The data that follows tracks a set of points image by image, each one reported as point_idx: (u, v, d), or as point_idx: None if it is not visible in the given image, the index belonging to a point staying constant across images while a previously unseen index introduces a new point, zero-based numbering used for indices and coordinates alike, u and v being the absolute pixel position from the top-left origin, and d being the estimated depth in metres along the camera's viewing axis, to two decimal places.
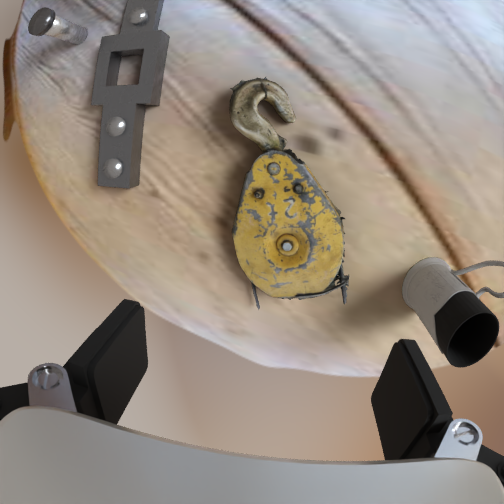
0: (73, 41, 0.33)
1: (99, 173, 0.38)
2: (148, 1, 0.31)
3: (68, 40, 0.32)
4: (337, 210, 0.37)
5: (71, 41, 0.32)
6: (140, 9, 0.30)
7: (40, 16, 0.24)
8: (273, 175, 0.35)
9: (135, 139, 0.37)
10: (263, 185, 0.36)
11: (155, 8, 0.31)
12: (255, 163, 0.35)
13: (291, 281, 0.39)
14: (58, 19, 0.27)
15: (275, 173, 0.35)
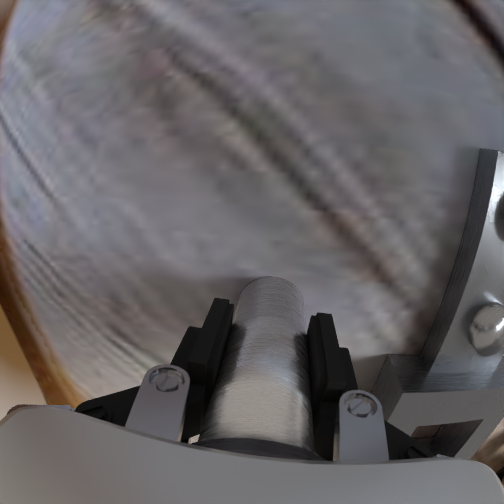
0: None
1: None
2: None
3: None
4: None
5: None
6: None
7: None
8: None
9: None
10: None
11: None
12: None
13: None
14: None
15: None
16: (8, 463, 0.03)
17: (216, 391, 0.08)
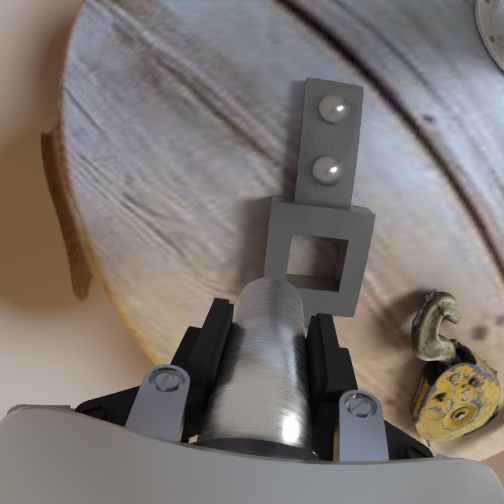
0: None
1: None
2: (340, 143, 0.25)
3: None
4: (494, 373, 0.30)
5: None
6: (334, 162, 0.25)
7: None
8: (454, 381, 0.29)
9: None
10: (444, 390, 0.30)
11: (353, 160, 0.26)
12: (439, 379, 0.30)
13: (461, 431, 0.33)
14: (311, 438, 0.07)
15: (456, 380, 0.29)
16: (8, 463, 0.03)
17: (215, 391, 0.08)
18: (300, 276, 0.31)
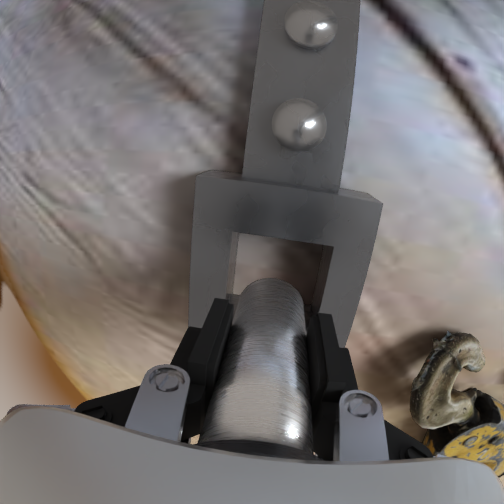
0: None
1: None
2: (322, 81, 0.14)
3: None
4: None
5: None
6: (310, 108, 0.14)
7: None
8: (469, 444, 0.18)
9: None
10: (455, 454, 0.19)
11: (345, 109, 0.14)
12: (448, 445, 0.19)
13: None
14: (312, 439, 0.07)
15: (472, 443, 0.18)
16: (8, 463, 0.03)
17: (216, 393, 0.08)
18: None
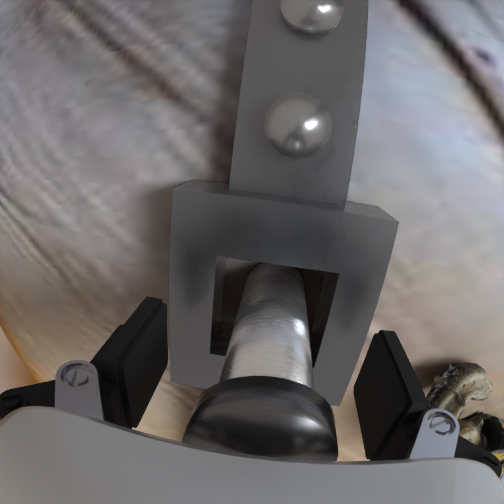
0: None
1: None
2: (325, 72, 0.11)
3: None
4: None
5: None
6: (312, 105, 0.11)
7: (267, 446, 0.07)
8: None
9: None
10: None
11: (354, 107, 0.12)
12: None
13: None
14: None
15: None
16: (8, 463, 0.03)
17: (231, 350, 0.10)
18: None
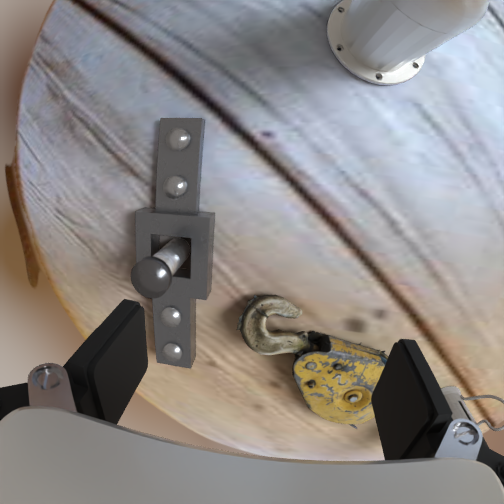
0: None
1: (157, 353, 0.41)
2: (184, 165, 0.35)
3: None
4: (375, 353, 0.39)
5: None
6: (177, 180, 0.34)
7: (150, 273, 0.30)
8: (314, 369, 0.38)
9: (192, 327, 0.40)
10: (310, 377, 0.39)
11: (195, 176, 0.35)
12: (295, 369, 0.39)
13: (370, 412, 0.41)
14: (171, 268, 0.32)
15: (314, 367, 0.38)
16: (8, 463, 0.03)
17: None
18: None
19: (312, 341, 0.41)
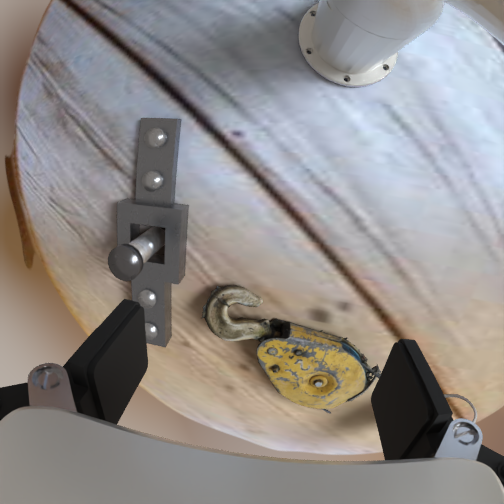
0: None
1: None
2: (161, 161, 0.38)
3: None
4: (337, 340, 0.42)
5: None
6: (154, 175, 0.37)
7: (123, 259, 0.33)
8: (276, 354, 0.42)
9: (166, 308, 0.44)
10: (274, 362, 0.43)
11: (170, 172, 0.38)
12: (258, 354, 0.43)
13: (337, 397, 0.44)
14: (143, 254, 0.35)
15: (276, 353, 0.42)
16: (8, 463, 0.03)
17: None
18: None
19: (275, 328, 0.45)
